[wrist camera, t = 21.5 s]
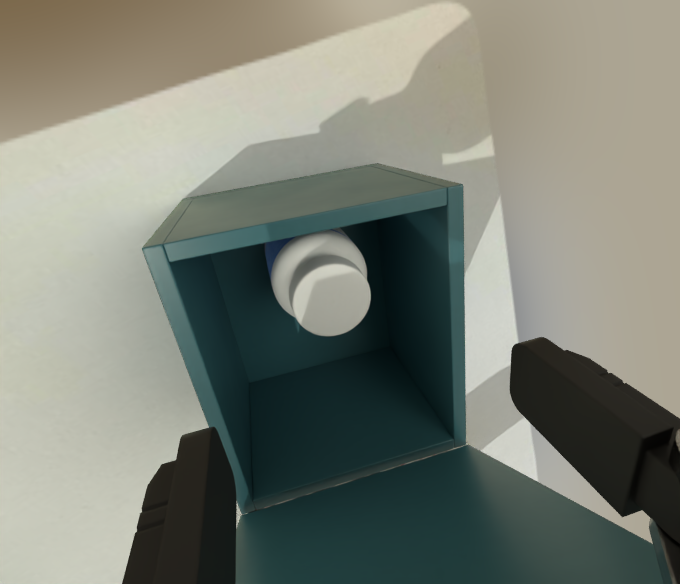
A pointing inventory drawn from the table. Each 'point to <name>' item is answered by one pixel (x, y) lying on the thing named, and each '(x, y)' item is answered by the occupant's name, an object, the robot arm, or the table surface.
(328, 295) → the pill bottle
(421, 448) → the teal lidded chest
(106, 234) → the table surface
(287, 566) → the lid
